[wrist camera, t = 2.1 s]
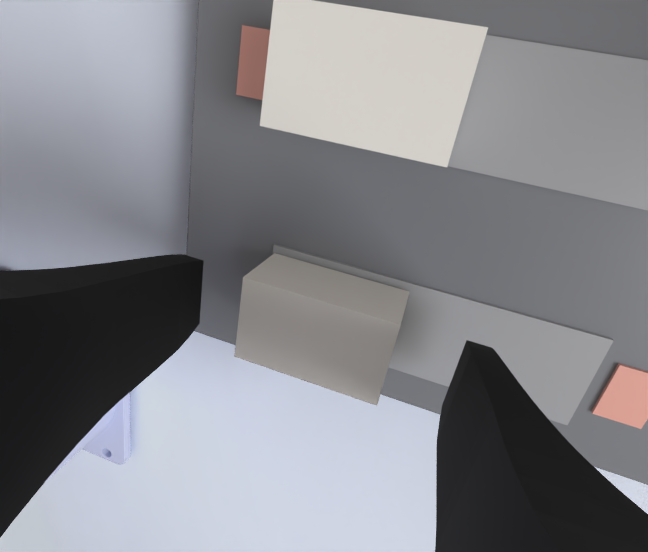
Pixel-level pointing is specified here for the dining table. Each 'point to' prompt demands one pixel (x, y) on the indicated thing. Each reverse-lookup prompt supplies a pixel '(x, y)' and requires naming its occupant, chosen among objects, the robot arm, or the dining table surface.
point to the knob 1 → (369, 78)
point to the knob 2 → (319, 325)
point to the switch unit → (459, 209)
